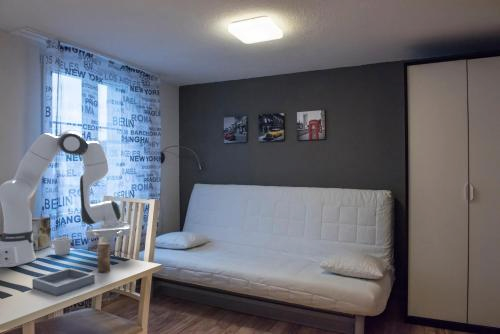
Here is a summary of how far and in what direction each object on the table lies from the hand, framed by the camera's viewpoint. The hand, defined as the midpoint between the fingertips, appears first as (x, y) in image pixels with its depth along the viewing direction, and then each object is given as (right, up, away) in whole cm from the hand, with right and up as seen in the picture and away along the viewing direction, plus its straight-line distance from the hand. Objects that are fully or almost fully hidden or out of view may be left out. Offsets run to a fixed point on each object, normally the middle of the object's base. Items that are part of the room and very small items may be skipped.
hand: (107, 235), depth 164 cm
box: (-5, -14, -28) cm, 32 cm away
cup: (-30, -12, +14) cm, 35 cm away
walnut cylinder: (+3, -13, -11) cm, 18 cm away
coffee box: (-47, -12, +25) cm, 55 cm away
